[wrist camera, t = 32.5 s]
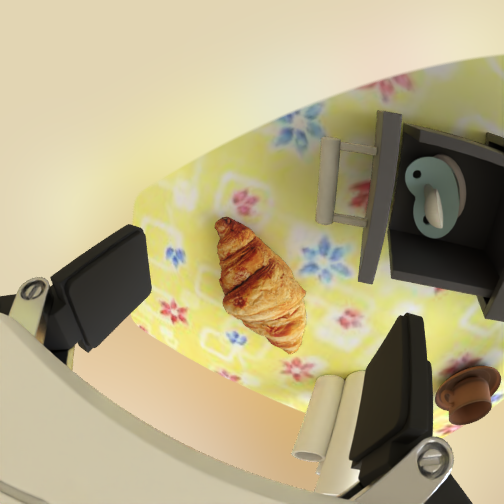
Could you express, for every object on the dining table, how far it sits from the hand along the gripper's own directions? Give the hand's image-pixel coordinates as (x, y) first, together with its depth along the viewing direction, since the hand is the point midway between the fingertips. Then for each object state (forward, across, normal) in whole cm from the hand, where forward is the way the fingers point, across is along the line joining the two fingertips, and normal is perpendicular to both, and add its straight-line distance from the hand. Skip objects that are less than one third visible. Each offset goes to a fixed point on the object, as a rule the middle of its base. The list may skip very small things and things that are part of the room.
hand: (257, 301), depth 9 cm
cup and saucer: (+21, -32, +24) cm, 45 cm away
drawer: (+20, -9, -1) cm, 22 cm away
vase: (+21, -12, +32) cm, 40 cm away
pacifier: (+19, -10, -2) cm, 22 cm away
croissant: (+21, +5, +17) cm, 27 cm away
